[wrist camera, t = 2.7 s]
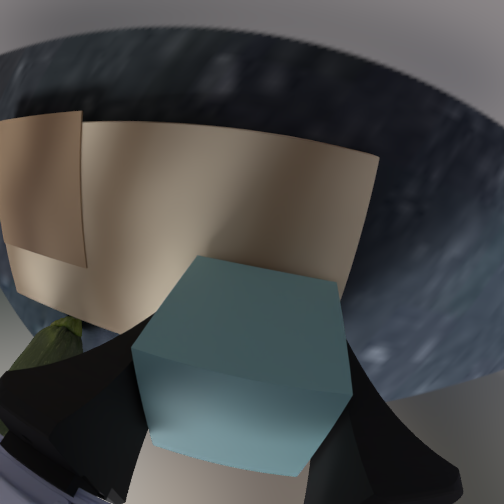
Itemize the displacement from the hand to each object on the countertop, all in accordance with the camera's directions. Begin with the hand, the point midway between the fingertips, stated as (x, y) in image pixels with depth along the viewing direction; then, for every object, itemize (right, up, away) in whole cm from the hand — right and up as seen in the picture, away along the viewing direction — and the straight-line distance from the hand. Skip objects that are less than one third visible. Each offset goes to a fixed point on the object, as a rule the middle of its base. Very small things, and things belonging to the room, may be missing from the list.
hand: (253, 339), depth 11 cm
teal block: (0, 0, +1) cm, 1 cm away
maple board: (-5, +4, +2) cm, 7 cm away
